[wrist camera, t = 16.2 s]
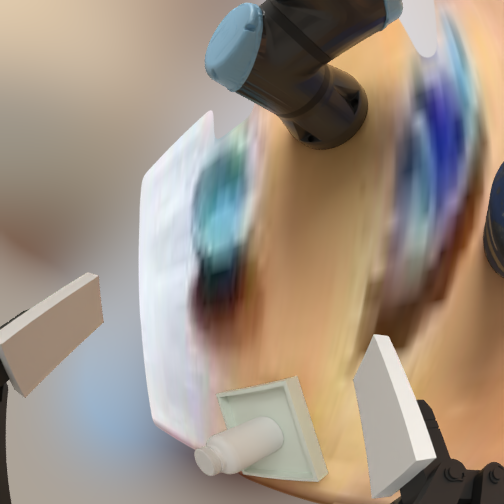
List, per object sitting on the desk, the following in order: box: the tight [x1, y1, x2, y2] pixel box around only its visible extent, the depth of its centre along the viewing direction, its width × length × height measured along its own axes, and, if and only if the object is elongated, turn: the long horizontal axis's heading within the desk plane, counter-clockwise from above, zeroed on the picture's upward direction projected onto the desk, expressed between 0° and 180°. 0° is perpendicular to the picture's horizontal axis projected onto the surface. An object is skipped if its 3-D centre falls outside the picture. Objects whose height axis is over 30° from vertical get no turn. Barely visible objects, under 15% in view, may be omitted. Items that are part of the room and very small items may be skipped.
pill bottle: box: [194, 416, 284, 476], centre depth 38 cm, size 8×8×15 cm
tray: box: [216, 376, 328, 482], centre depth 43 cm, size 20×20×3 cm
